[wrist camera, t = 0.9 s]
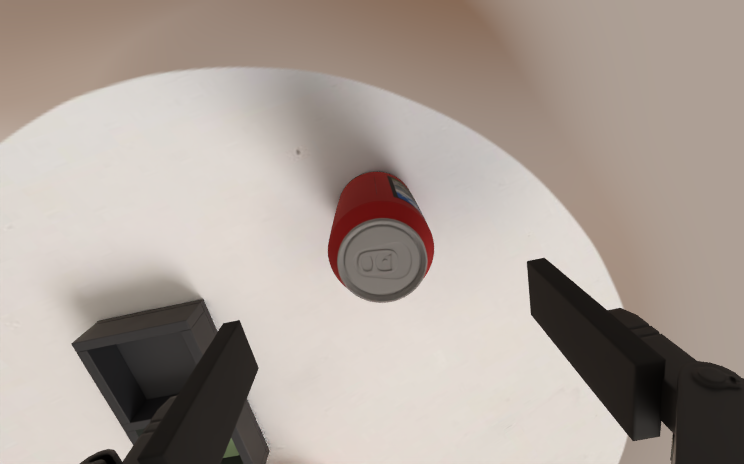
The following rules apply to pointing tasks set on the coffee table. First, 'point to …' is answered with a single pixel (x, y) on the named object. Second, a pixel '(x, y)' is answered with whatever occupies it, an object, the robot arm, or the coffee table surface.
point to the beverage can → (379, 239)
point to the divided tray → (158, 369)
